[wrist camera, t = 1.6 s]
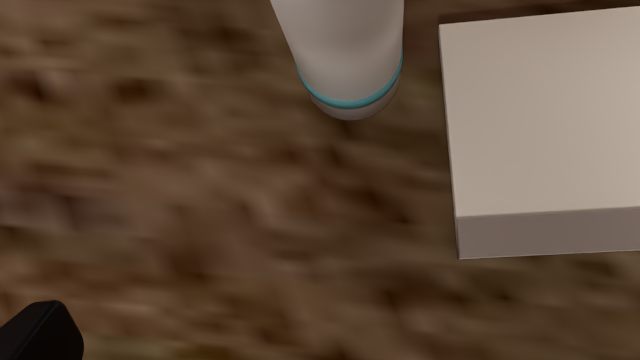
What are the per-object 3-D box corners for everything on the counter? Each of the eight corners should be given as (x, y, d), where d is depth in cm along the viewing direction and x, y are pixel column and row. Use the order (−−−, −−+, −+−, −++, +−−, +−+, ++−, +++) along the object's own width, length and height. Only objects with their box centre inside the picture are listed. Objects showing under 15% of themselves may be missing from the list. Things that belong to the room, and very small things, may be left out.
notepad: (458, 258, 21) (460, 258, 21) (437, 31, 23) (439, 23, 22) (718, 246, 20) (729, 244, 20) (677, 9, 22) (686, 0, 21)
